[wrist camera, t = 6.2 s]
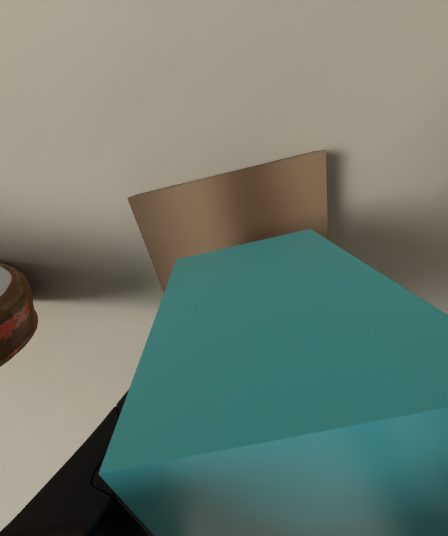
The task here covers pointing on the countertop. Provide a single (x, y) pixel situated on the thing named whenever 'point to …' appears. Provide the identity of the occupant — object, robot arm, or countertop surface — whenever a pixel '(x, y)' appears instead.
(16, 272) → the tin
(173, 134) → the countertop surface
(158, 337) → the teal block
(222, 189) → the walnut board
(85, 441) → the robot arm
